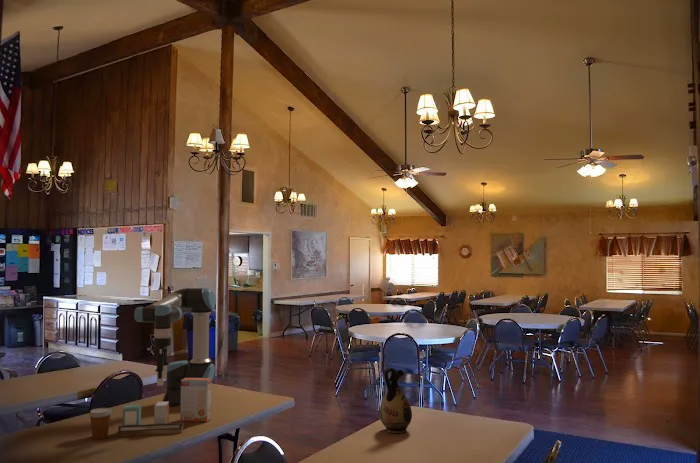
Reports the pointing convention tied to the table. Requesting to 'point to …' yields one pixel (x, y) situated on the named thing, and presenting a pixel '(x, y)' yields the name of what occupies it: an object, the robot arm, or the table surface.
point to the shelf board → (150, 429)
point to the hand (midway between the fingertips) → (161, 382)
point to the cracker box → (195, 399)
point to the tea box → (131, 415)
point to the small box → (161, 413)
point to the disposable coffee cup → (100, 422)
